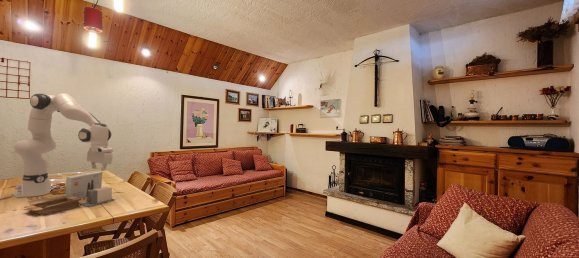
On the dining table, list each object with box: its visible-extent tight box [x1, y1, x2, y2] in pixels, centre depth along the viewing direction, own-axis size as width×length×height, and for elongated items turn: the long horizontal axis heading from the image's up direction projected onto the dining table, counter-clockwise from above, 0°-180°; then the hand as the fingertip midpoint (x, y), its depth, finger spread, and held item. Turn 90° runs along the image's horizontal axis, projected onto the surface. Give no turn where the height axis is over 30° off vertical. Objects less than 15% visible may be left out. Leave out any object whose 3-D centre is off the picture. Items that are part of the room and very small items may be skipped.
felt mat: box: [79, 198, 116, 208], centre depth 160 cm, size 9×16×1 cm, turn 158°
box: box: [86, 186, 113, 204], centre depth 161 cm, size 5×12×8 cm, turn 158°
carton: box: [23, 193, 85, 216], centre depth 147 cm, size 19×23×5 cm
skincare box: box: [65, 171, 103, 199], centre depth 170 cm, size 21×5×16 cm, turn 168°
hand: (98, 169), depth 160 cm, fingers open, 8 cm apart
